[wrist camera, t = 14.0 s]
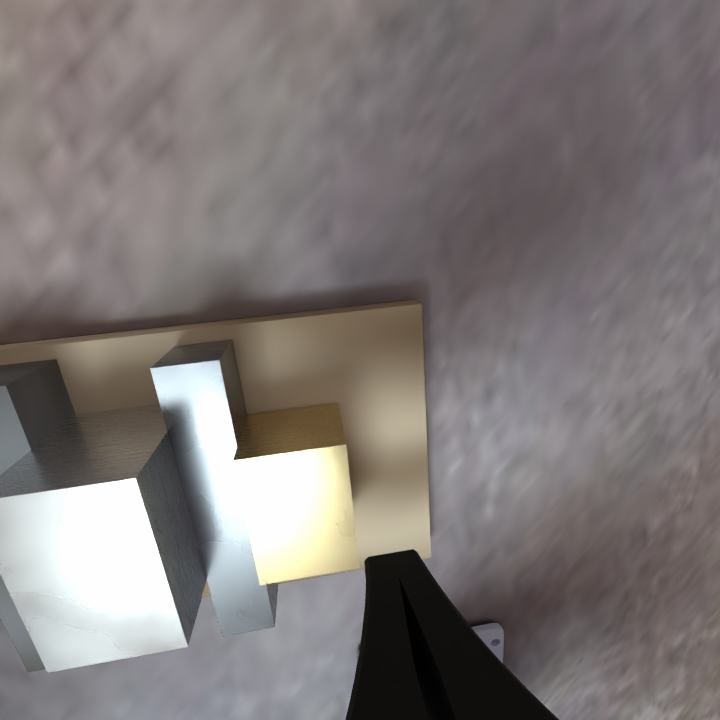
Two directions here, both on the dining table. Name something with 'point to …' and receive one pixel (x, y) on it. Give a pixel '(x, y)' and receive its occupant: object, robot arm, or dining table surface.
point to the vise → (253, 404)
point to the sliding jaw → (254, 484)
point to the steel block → (101, 541)
